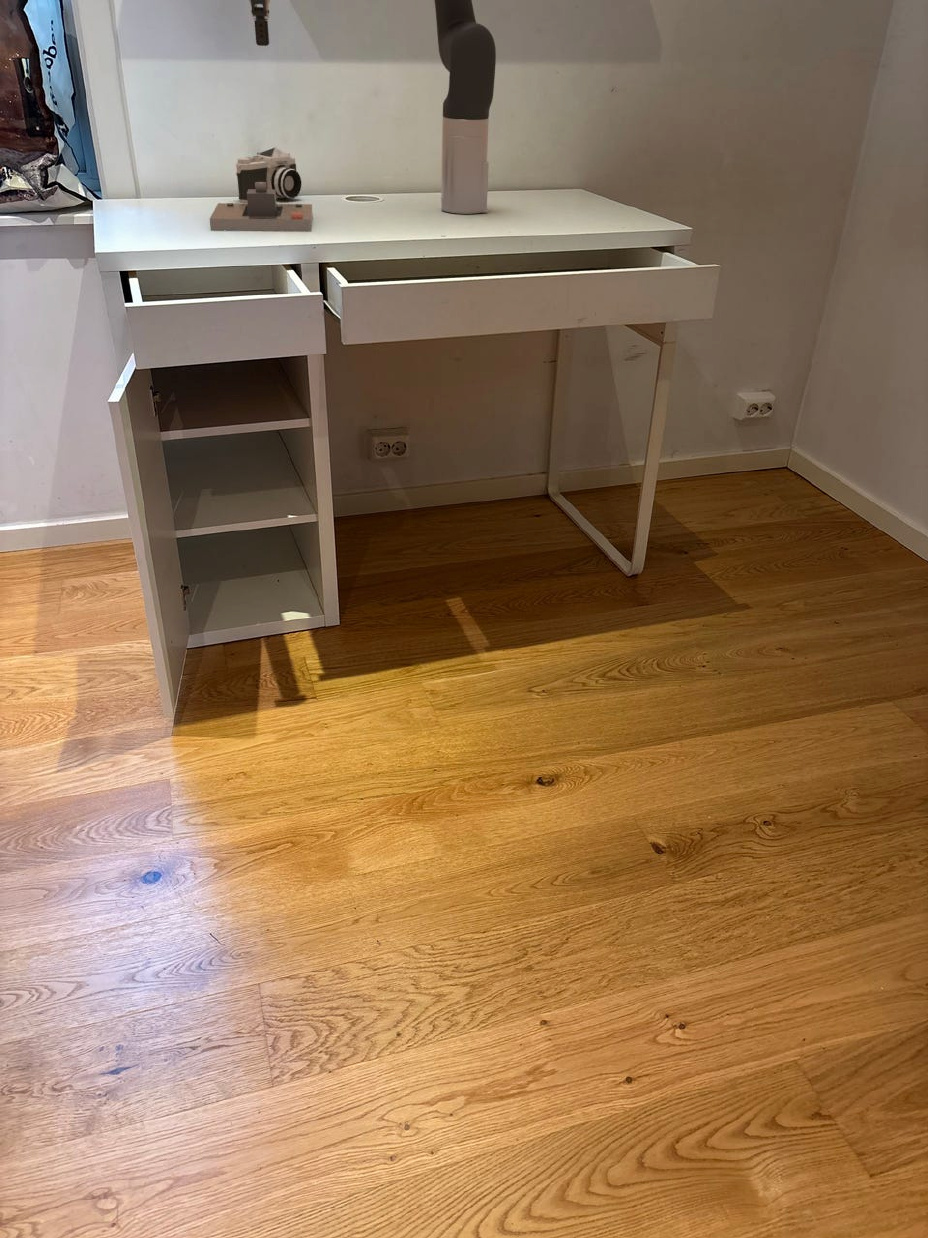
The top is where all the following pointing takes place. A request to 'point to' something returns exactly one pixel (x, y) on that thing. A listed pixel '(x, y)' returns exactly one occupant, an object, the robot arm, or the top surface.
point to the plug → (261, 201)
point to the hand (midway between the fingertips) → (262, 45)
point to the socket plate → (261, 218)
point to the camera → (269, 174)
